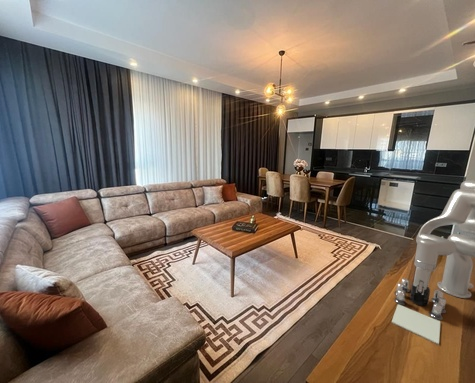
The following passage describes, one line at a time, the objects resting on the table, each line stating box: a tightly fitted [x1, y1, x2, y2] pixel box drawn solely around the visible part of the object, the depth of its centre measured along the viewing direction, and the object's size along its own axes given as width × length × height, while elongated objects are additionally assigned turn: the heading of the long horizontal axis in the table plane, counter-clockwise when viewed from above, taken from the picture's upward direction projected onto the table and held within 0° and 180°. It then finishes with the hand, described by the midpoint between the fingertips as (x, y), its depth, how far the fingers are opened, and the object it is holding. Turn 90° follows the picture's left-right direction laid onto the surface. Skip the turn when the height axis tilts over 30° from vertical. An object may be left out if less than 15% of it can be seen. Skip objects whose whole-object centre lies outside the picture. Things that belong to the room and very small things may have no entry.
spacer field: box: [394, 277, 447, 321], centre depth 102 cm, size 17×19×6 cm
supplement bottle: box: [409, 282, 431, 307], centre depth 101 cm, size 7×7×12 cm
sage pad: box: [391, 303, 441, 346], centre depth 90 cm, size 15×15×1 cm
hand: (419, 296), depth 102 cm, fingers closed on supplement bottle, 6 cm apart
